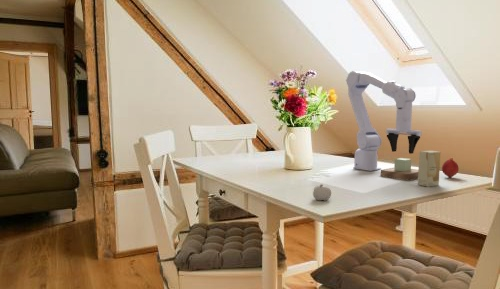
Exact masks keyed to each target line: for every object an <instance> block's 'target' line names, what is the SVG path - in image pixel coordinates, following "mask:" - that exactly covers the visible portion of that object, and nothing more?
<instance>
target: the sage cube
mask: <svg viewBox="0 0 500 289" xmlns="http://www.w3.org/2000/svg"><path fill="white" fill-rule="evenodd" d="M393 168H394V170H397V171H404V172H405V171H410V170H411V169H412V159H411V158H405V157H404V158H403V157H399V158H394V167H393Z"/></svg>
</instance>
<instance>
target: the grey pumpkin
mask: <svg viewBox="0 0 500 289" xmlns="http://www.w3.org/2000/svg"><path fill="white" fill-rule="evenodd" d="M312 192H313V193H312V195H313V198H314V200H316V201H319V200H325V201H327V200H329V199H330V198H331V196H332V189H331V188H330V187H329V186H328V185H323V183H320V184H319V185H316V186H315V187H314V188H313V191H312Z"/></svg>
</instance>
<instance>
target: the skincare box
mask: <svg viewBox="0 0 500 289" xmlns="http://www.w3.org/2000/svg"><path fill="white" fill-rule="evenodd" d="M418 153H419V154H418V169H417V170H418V178H417V185H419V186H423V187H427V188H429V187H435V186H439V185H440V184H439V183H440V168H441V166H440V165H441V154H442V153H441V151H438V150H437V151H436V150H421V151H419V152H418Z"/></svg>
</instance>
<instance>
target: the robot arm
mask: <svg viewBox="0 0 500 289" xmlns="http://www.w3.org/2000/svg"><path fill="white" fill-rule="evenodd" d="M345 81H346V85H347V91H348V92H347V93H348V98H349V101H350V105H351V107H352V110H353V114H354V117H355V121H356V123H357V126H358V130H357V131H358V132H357V133H356V134H355V135H356V143H357V146H358V148H357V149H356V150H355V152H354V160H353V161H354V165H353V169H356V170H362V171H367V172H368V171H370V172H372V171H377V170H378V171H379V170H382V168H381V167H378V150H379V148H380V146H381V145H382V141H383V140H382V137H381V135H379V133H378V130H377V129H376V128H374V127H373V126H372V123H371V120H370V116H369V114H368V110H367V107H366V105H365V101H364V98H363V92H365V90H366V89H367V88H369V87H368V86H370V85H372V86H374V87H377V88H379V89H380V90H382V93H383V94H384V95H386V96H388V97H389V98H392V99H393V100H394V101H395V106H396V114H395V115H396V116H395V117H396V120H395V124H396V125H395V128H386V129H385V131H386V132H385V134H386V138H387V140H388V142H389V144H390V147H391V152H397V148H398V146H397V145H398V138H399V135H404V136H407V140H408V141H407V142H408V154H409V155H411V154H414V152H415V149H416V146H417V143H418V142H419V141H420V139H421V136H422V130H417V129H412V120H413V119H412V117H413V116H412V114H413V102H414V101H415V99H416V96H417V94H416V91H414V90H413V89H412V88H405V85H401V84H398V83H396V82H397V81H395V80H388V81H385V80H383V79H382V78H381V77H379V76H376V75H374V74H373V73H371V72H369V71H356V70H352V71H349V73H348V75H347V76H346V79H345Z"/></svg>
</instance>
